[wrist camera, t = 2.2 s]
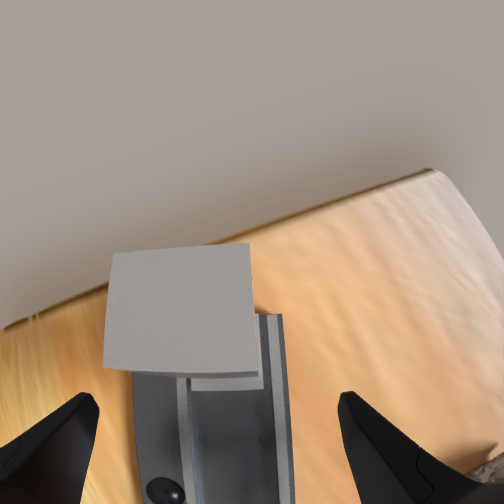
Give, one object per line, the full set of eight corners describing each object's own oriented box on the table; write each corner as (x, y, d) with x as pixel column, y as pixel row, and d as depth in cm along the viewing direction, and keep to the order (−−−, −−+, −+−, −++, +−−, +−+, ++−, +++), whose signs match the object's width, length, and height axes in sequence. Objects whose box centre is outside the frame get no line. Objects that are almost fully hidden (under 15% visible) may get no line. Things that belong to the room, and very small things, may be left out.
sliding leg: (263, 388, 15) (269, 402, 5) (148, 388, 15) (15, 374, 5) (258, 318, 17) (255, 217, 7) (149, 322, 17) (35, 240, 7)
